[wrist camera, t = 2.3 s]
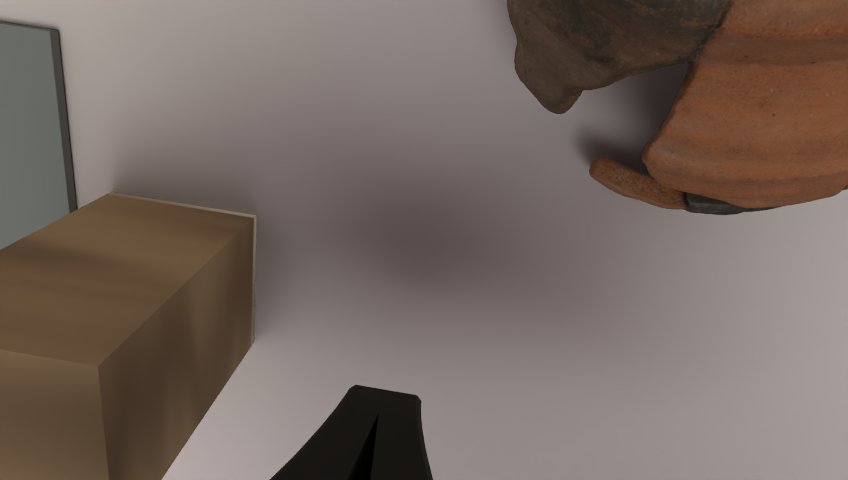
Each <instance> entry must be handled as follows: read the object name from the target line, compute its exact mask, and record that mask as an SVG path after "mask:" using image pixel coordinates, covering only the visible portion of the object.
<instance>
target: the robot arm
mask: <svg viewBox="0 0 848 480" xmlns="http://www.w3.org/2000/svg"><path fill="white" fill-rule="evenodd" d="M270 480H433V478H432V474H431V470H430V466H429V462H428V458H427V453H426V448H425V443H424V437H423V430H422V422H421V400H420V399H419V398H418V396H417V395H412V394H406V393H400V392H394V391H389V390H383V389H377V388H371V387H366V386H360V385H355V386H353V387H351V388H350V389H349V390H348V392H347V393H346V395H345V396H344V398H343V399H342V400H341V402H340V403H339V404H338V406H337V407H336V408H335V410H334V411H333V412H332V414H331V415H330V416H329V417H328V418H327V420H326V421H325V422H324V423H323V424H322V426H321V427H320V428H319V429H318V430H317V431H316V432H315V434H314V435H313V436H312V437H311V438H310V439H309V440H308V441H307V442H306V444H305V445H304V446H303V447H302V448H301V449H300V450H299V451H298V452H297V453H296V454H295V455H294V456H293V458H292V459H290V460H289V461H288V462H287V463H286V464H285V465H284V466H283V467H282V468H281V469H280V470H279V471H278V472H277V473H276V474H275V475H274V476H273V477H272V478H271V479H270Z"/></svg>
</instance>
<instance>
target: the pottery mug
mask: <svg viewBox="0 0 848 480" xmlns="http://www.w3.org/2000/svg"><path fill="white" fill-rule="evenodd" d="M507 6H508V12H509V17H510V21H511V24H512V26H513V29H514V32H515V34H516V39H517V46H516V52H515V59H514V62H515V70H516V73H517V75H518V77H519V79H520V80H521V81H522V82H523V83H524V84H525V86H526V87H527V88H528V89H529V90H530V92H531V93H532V94H533V95H534V96H535V97H536V98H537V100H538V101H539V102H540V103H541V104H542V105H543V106H544V107H545V108H546V109H548V110H549V111H551V112H553V113H556V114H562V113H565V112H566V111H568V110H569V109H570V108H571V107H572V105H573V104H574V103H575V102H576V100H577V99H578V97H579V96H580V95H581V93H582V91H583V90H592V89H597V88H602V87H605V86H608V85H610V84H612V83H614V82H617V81H619V80H621V79H623V78H626V77H628V76H631V75H635V74H639V73H643V72H646V71H651V70H655V69H657V68H661V67H664V66H669V65H675V64H679V63H685V62H687V63H689V68H688V72H687V74H686V77H685V79H684V82H683V84H682V86H681V88H680V90H679V92H678V94H677V96H676V98H675V100H674V103H673V106H672V108H671V110H670V112H669V114H668V116H667V118H666V119H665V121H664V123H663V124H662V126H661V128H660V129H659V131H658V132H657V133H656V134H655V135H654V137H653V138H652V139H651V140H650V141H649V142H648V143H647V145H646V147H645V148H644V150H643V153H642V156H641V159H642V161H643V163H645V164H646V168H647V170H648V172H649V174H650V175H651V176H652V177H651V176H648V175H646V174H643V173H641V172H639V171H636V170H634V169H631V168H629V167H627V166H625V165H623V164H621V163H619V162H617V161H615V160H613V159H610V158H607V157H599V158H597V159H595V160H594V162H593V163H592V165H591V168H590V170H589V173H590V175H591V177H592V178H594V179H595V180H597V181H598V182H600V183H601V184H603V185H604V186H606V187H607V188H609V189H611V190H613V191H614V192H616V193H618V194H621V195H623V196H626V197H630V198H634V199H637V200H641V201H644V202H646V203H649V204H652V205H655V206H658V207H661V208H667V209H683V210H686V211H689V212H693V213H704V214H716V215H729V214H738V213H742V212H752V211H761V210H768V209H773V208H777V207H781V206H786V205H793V204H799V203H805V202H810V201H814V200H818V199H822V198H827V197H831V196H834V195H836V194H838V193H839V192H840V191H842V190H846V189H848V0H507Z"/></svg>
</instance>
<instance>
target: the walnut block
mask: <svg viewBox="0 0 848 480" xmlns="http://www.w3.org/2000/svg"><path fill="white" fill-rule="evenodd" d="M256 219H257V215H252V214H245V213H239V212H233V211H227V210H220V209H214V208H208V207H202V206H195V205H189V204H183V203H177V202H171V201H164V200H158V199H152V198H146V197H139V196H133V195H127V194H121V193H114V192H110V193H108V194H106V195H105V196H103V197H101V198H99V199H97V200H95V201H93V202H91V203H89V204H87V205H85V206H83V207H82V208H80V209H78V210H76V211H74V212H72V213H70V214H68V215H66V216H64V217H62V218H60V219H58V220H57V221H55V222H53V223H51V224H49V225H47V226H45V227H43V228H41V229H39V230H37V231H35V232H34V233H32V234H30V235H28V236H26V237H24V238H22V239H20V240H18V241H16V242H14V243H12V244H10V245H9V246H7V247H5V248H3V249H1V250H0V480H161V479H162V478H163V476H164V475H165V473H166V472H167V470H168V469H169V467H170V466H171V465H172V463H173V462H174V460H175V459H176V457H177V456H178V454H179V453H180V451H181V450H182V448H183V447H184V445H185V444H186V442H187V441H188V439H189V438H190V436H191V435H192V433H193V432H194V430H195V429H196V427H197V426H198V424H199V423H200V421H201V420H202V418H203V417H204V416H205V414H206V413H207V411H208V410H209V408H210V407H211V405H212V404H213V402H214V401H215V399H216V398H217V396H218V395H219V393H220V392H221V390H222V389H223V387H224V386H225V384H226V383H227V381H228V380H229V378H230V377H231V375H232V374H233V372H234V371H235V369H236V368H237V367H238V365H239V364H240V362H241V361H242V359H243V358H244V356H245V355H246V353H247V352H248V350H249V349H250V347H251V346H252V344H253V343H254V308H255V264H256Z"/></svg>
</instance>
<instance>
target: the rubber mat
mask: <svg viewBox="0 0 848 480" xmlns="http://www.w3.org/2000/svg"><path fill="white" fill-rule="evenodd" d="M76 210H77V209H76V199H75V189H74V180H73V170H72V160H71V151H70V141H69V132H68V122H67V112H66V103H65V93H64V84H63V74H62V64H61V55H60V45H59V35H58V30H52V29H45V28H39V27H32V26H25V25H19V24H12V23H5V22H0V250H1V249H3V248H5V247H7V246H9V245H10V244H12V243H14V242H16V241H18V240H20V239H22V238H24V237H26V236H28V235H30V234H32V233H34V232H35V231H37V230H39V229H41V228H43V227H45V226H47V225H49V224H51V223H53V222H55V221H57V220H58V219H60V218H62V217H64V216H66V215H68V214H70V213H72V212H74V211H76Z"/></svg>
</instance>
